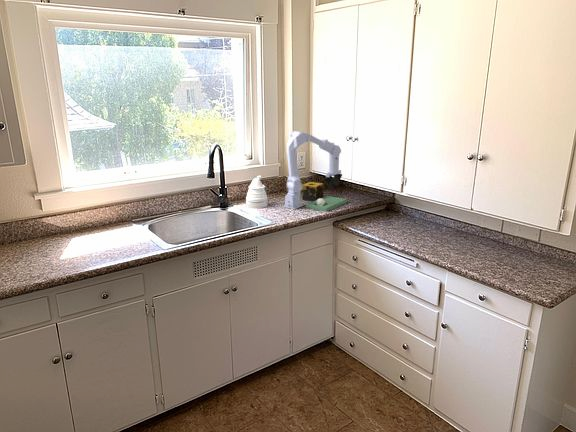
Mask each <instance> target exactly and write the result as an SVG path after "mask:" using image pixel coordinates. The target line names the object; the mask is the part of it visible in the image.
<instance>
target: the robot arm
mask: <svg viewBox="0 0 576 432" xmlns="http://www.w3.org/2000/svg"><path fill="white" fill-rule="evenodd" d="M306 142H307V143H308V142H310V143H312V144H315V145H317V146H318V147H319V149H321V150H323V151H325V152H327V153H328V154H329V165H328V167H329V168H328V172H327V173H325V175H324V178H325V180H326V183H327V188H328V189H333V183H334V186H337V187H338V186H339V185H340V181H341V178H342V177H343V173H342V170H341V169H340V168H339V167H340V155H341V152H342V149H341V147H340V146H339V145H337V144H335V142H330V141H329V139H319V138H318V137H316V136H314V135H312V134H310V133H306V132H301V131H299V130H294V131H292V132H291V133H290V134H289V138H288V142H287V144H286V154H287V155H286V156H287V163H288V164H287V165H288V166H287V167H288V177H287V182H286V188H287V189H288V192H287V194H286V195H285V196H284V206H283V208H286V209H291V210H296V209H299V208H301V207H304V204H301V200H302V199H301V197H302V195H301V193H302V192H301V191H302V185H303V184H302V182H301V178H300V176H299V167H298V155H297V149H298V148H299V147H301V146H302V145H303V144H305V143H306Z"/></svg>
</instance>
